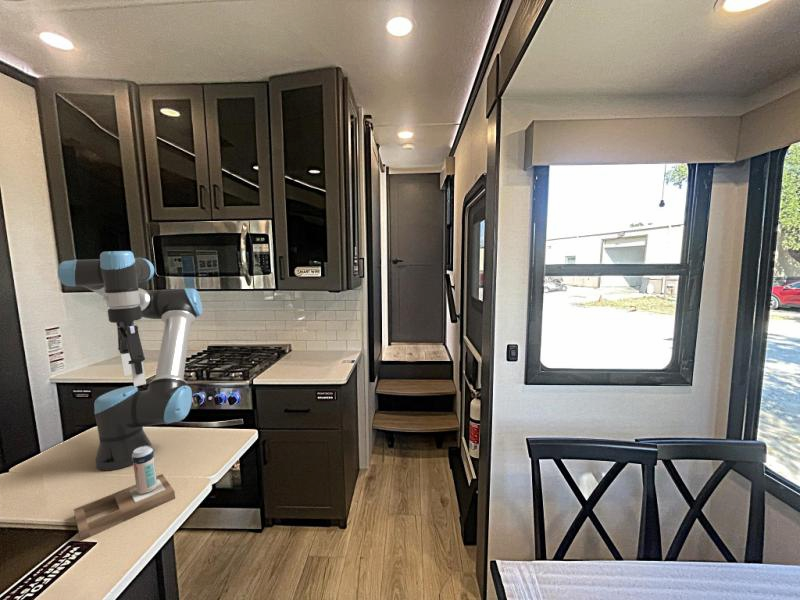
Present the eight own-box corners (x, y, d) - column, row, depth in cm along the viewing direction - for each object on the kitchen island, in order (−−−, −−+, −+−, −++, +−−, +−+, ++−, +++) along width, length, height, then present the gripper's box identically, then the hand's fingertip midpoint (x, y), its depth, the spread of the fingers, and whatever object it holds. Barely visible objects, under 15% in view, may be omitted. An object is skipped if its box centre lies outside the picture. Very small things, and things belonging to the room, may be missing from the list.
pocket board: (75, 517, 96) (73, 508, 96) (163, 480, 110) (162, 473, 110) (80, 540, 88) (79, 531, 87) (175, 498, 102) (174, 490, 102)
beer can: (143, 485, 104) (137, 445, 103) (161, 483, 105) (155, 443, 103) (133, 496, 100) (127, 454, 98) (152, 494, 100) (146, 453, 99)
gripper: (99, 305, 109) (110, 374, 112) (116, 312, 92) (127, 394, 95) (130, 301, 114) (139, 367, 117) (151, 308, 97) (161, 385, 100)
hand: (134, 379), depth 106 cm, fingers open, 13 cm apart
